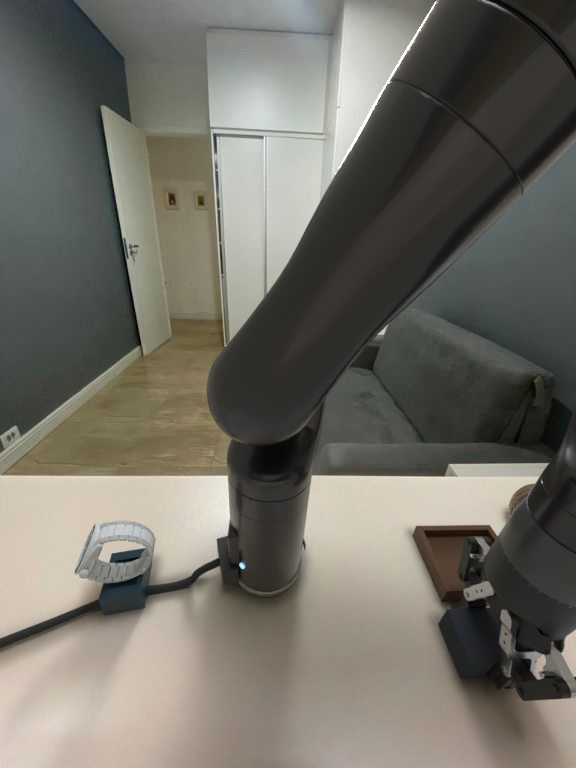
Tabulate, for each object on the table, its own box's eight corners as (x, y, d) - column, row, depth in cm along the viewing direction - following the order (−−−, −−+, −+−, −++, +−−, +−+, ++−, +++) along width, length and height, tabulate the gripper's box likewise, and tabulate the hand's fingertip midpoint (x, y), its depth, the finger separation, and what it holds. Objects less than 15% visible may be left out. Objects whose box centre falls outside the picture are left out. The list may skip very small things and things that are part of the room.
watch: (100, 570, 40) (76, 514, 34) (166, 559, 41) (153, 504, 36) (85, 619, 35) (55, 563, 30) (160, 604, 37) (144, 549, 31)
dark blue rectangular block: (460, 678, 32) (472, 664, 31) (437, 623, 37) (447, 608, 35) (522, 675, 33) (537, 661, 31) (493, 621, 37) (504, 606, 36)
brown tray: (441, 600, 39) (446, 591, 38) (412, 534, 47) (416, 525, 46) (527, 597, 40) (534, 588, 39) (484, 533, 48) (489, 524, 47)
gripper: (463, 491, 32) (420, 581, 41) (586, 668, 20) (487, 745, 28) (530, 490, 33) (474, 579, 41) (690, 662, 20) (563, 739, 29)
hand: (480, 646), depth 35 cm, fingers closed on dark blue rectangular block, 5 cm apart
